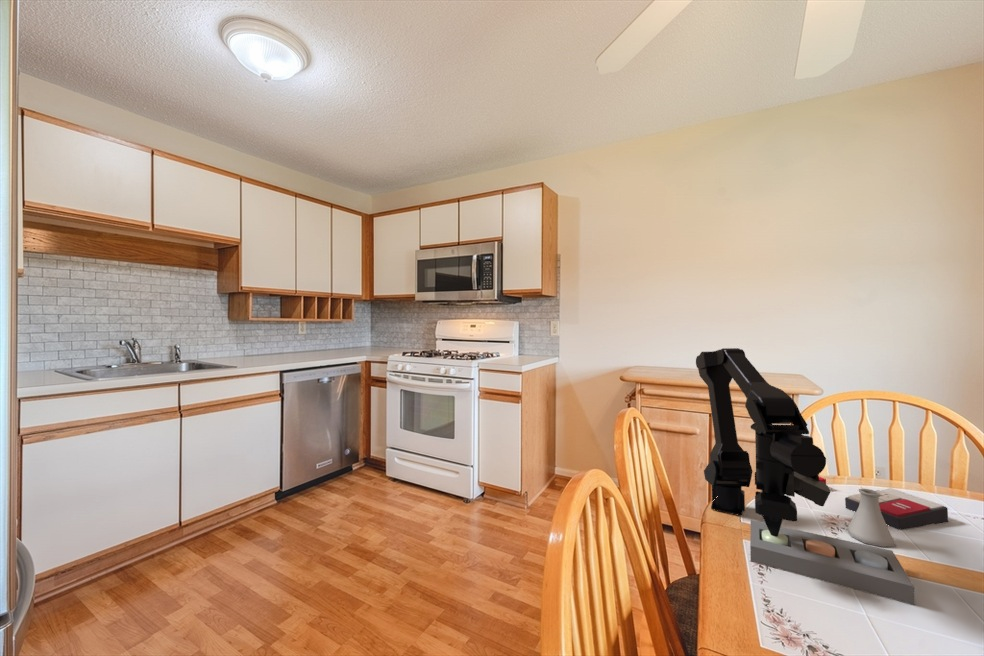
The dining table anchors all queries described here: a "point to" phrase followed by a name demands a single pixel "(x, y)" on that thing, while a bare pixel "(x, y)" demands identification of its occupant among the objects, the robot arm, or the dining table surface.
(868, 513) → the flask
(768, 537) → the button sage
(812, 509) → the dining table surface
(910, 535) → the dining table surface
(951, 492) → the dining table surface
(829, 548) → the button terracotta
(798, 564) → the button panel
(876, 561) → the button blue
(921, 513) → the black product box
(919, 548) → the dining table surface
